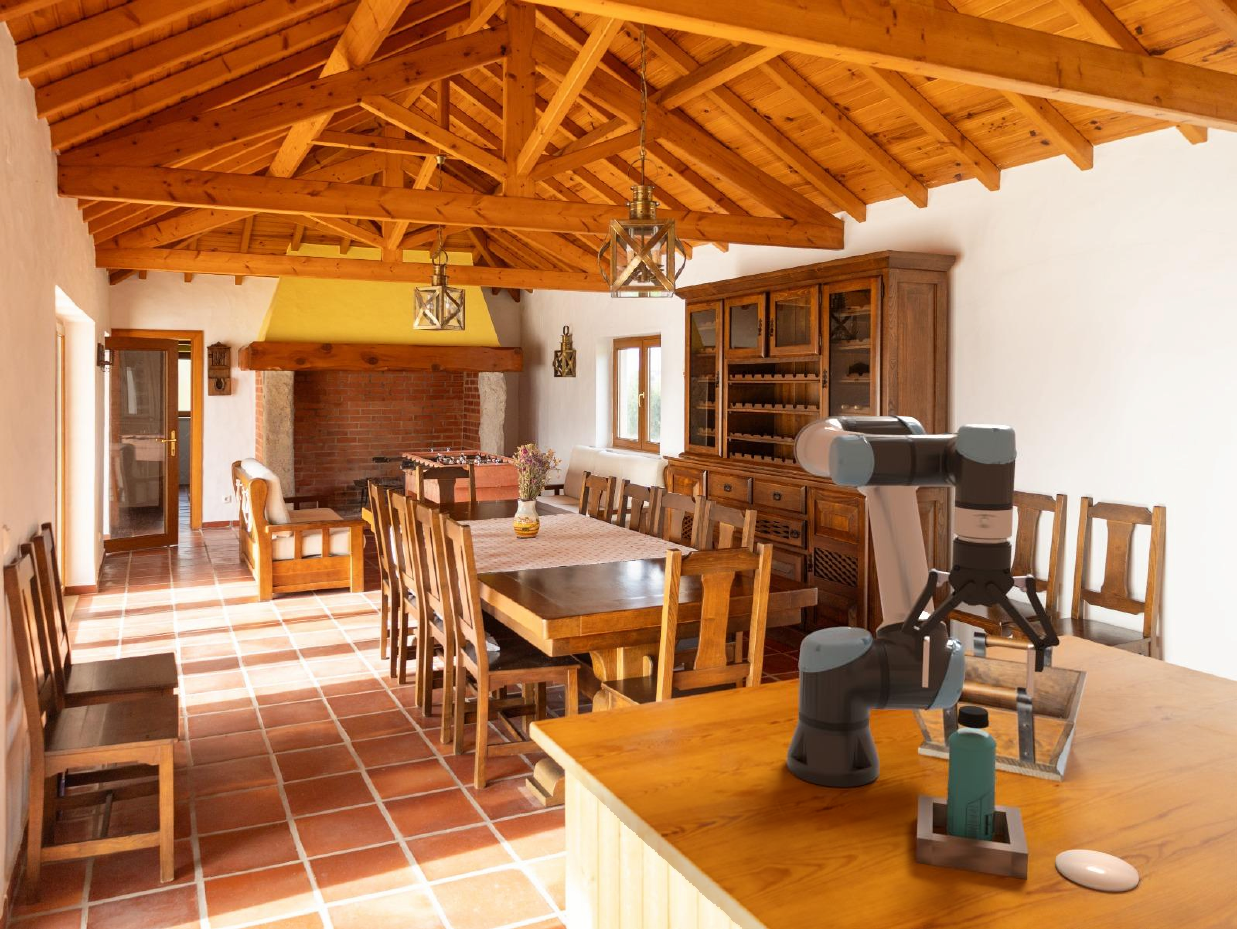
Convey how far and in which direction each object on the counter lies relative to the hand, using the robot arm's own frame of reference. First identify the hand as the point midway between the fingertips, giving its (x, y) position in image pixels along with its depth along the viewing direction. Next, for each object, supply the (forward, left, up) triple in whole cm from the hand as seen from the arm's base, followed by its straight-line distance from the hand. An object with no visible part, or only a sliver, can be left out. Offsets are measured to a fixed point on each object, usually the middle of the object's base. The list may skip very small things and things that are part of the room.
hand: (976, 689), depth 135 cm
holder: (0, 0, -23) cm, 23 cm away
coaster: (+16, -2, -23) cm, 28 cm away
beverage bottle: (0, 0, -23) cm, 23 cm away
